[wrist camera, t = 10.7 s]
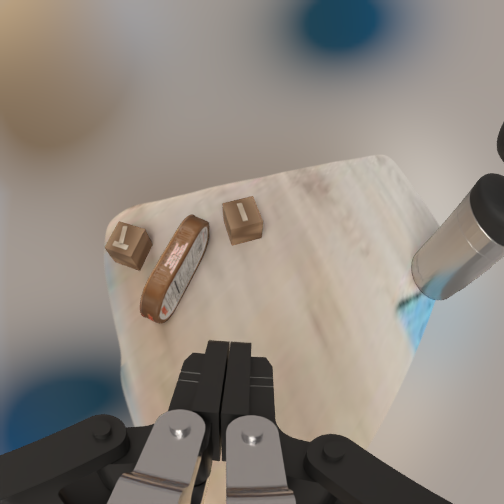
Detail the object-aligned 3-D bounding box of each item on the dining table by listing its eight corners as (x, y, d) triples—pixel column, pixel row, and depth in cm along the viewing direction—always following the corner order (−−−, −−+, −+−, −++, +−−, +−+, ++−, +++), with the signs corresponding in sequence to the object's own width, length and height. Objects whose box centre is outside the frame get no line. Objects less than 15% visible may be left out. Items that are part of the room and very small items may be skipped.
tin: (197, 234, 48) (189, 200, 40) (216, 241, 47) (211, 208, 40) (148, 323, 41) (128, 303, 34) (168, 333, 41) (151, 315, 33)
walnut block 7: (152, 244, 47) (144, 228, 43) (140, 270, 45) (130, 256, 41) (128, 237, 47) (118, 220, 43) (115, 261, 45) (104, 247, 41)
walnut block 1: (252, 213, 50) (252, 195, 46) (261, 238, 48) (263, 220, 44) (223, 220, 49) (222, 202, 45) (231, 245, 47) (230, 229, 43)
